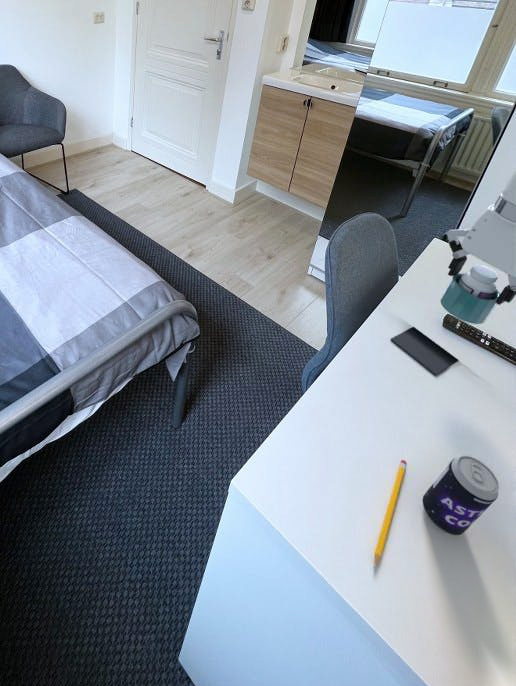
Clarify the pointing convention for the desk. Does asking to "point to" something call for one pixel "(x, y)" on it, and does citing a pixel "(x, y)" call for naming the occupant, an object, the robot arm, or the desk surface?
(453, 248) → the robot arm
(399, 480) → the pencil
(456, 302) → the cup
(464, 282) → the pill bottle
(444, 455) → the desk surface
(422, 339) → the dark grey rectangular plate
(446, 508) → the beverage can
